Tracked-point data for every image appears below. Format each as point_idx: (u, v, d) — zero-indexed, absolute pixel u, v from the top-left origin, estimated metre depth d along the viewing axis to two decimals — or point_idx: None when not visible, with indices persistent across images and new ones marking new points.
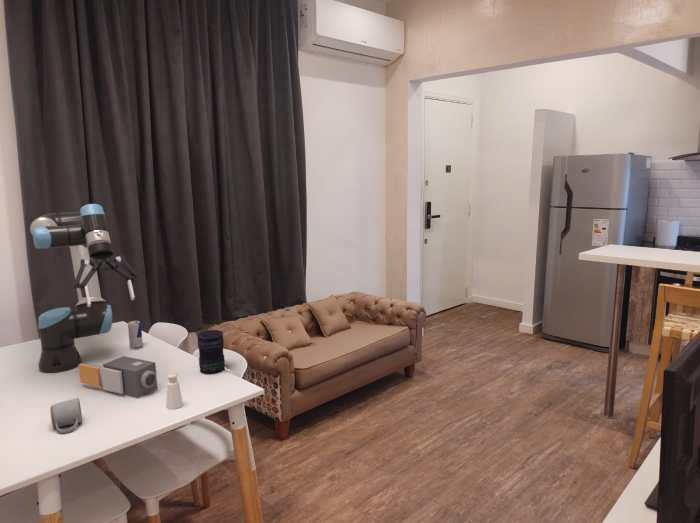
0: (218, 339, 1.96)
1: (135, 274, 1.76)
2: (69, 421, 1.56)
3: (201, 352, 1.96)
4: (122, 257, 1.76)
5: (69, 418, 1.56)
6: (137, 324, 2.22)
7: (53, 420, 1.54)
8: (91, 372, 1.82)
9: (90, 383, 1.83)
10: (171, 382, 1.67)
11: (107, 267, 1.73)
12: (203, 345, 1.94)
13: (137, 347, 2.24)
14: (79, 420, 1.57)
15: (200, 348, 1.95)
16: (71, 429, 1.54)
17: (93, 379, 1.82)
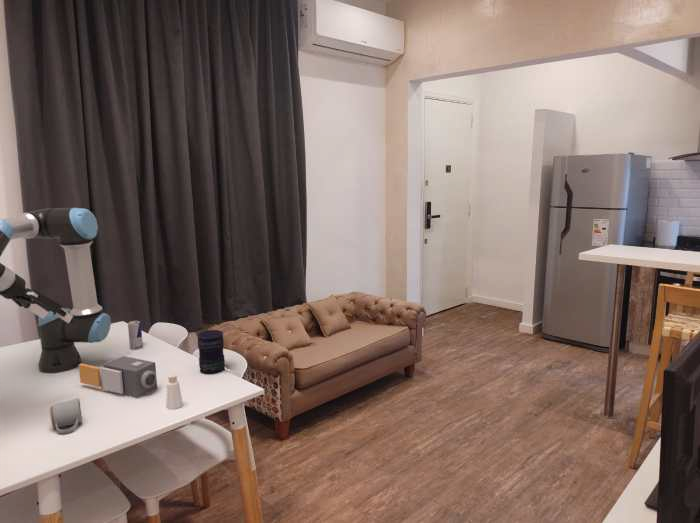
0: (218, 339, 1.96)
1: (54, 310, 1.61)
2: (69, 421, 1.56)
3: (201, 352, 1.96)
4: (32, 298, 1.56)
5: (69, 418, 1.55)
6: (137, 324, 2.22)
7: (53, 421, 1.53)
8: (91, 372, 1.82)
9: (90, 383, 1.83)
10: (171, 382, 1.67)
11: None
12: (203, 345, 1.94)
13: (137, 347, 2.24)
14: (79, 420, 1.57)
15: (200, 348, 1.95)
16: (71, 429, 1.53)
17: (93, 379, 1.82)
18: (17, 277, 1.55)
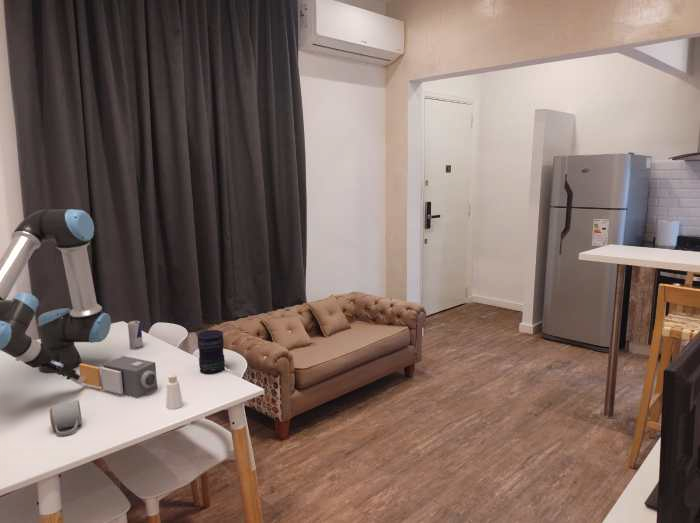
0: (218, 339, 1.96)
1: (69, 376, 1.75)
2: (69, 423, 1.54)
3: (201, 352, 1.96)
4: (58, 368, 1.69)
5: (69, 420, 1.54)
6: (137, 324, 2.22)
7: (52, 423, 1.52)
8: (91, 372, 1.82)
9: (91, 383, 1.83)
10: (171, 382, 1.67)
11: None
12: (203, 345, 1.94)
13: (137, 347, 2.24)
14: (79, 422, 1.56)
15: (200, 348, 1.95)
16: (71, 431, 1.52)
17: (93, 378, 1.82)
18: (42, 347, 1.66)
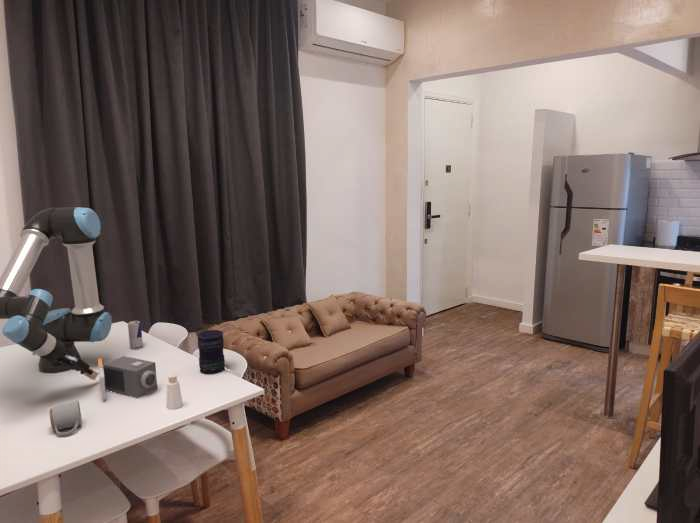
0: (218, 339, 1.96)
1: (83, 371, 1.79)
2: (69, 424, 1.54)
3: (201, 352, 1.96)
4: (72, 363, 1.73)
5: (69, 421, 1.54)
6: (137, 324, 2.22)
7: (52, 423, 1.52)
8: None
9: None
10: (171, 382, 1.67)
11: None
12: (203, 345, 1.94)
13: (137, 347, 2.24)
14: (79, 423, 1.56)
15: (200, 348, 1.95)
16: (71, 432, 1.52)
17: None
18: (57, 342, 1.71)
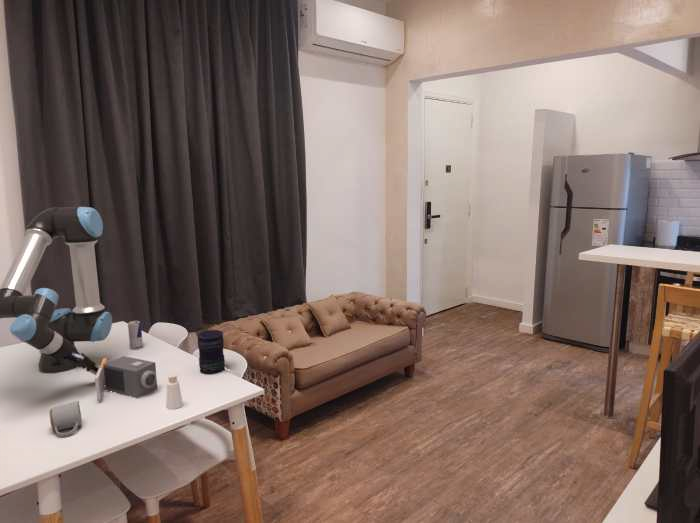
0: (218, 339, 1.96)
1: (89, 368, 1.82)
2: (69, 424, 1.54)
3: (201, 352, 1.96)
4: (79, 360, 1.76)
5: (69, 421, 1.53)
6: (137, 324, 2.22)
7: (52, 424, 1.52)
8: None
9: None
10: (171, 382, 1.67)
11: None
12: (203, 345, 1.94)
13: (137, 347, 2.24)
14: (79, 423, 1.55)
15: (200, 348, 1.95)
16: (71, 432, 1.52)
17: None
18: (64, 340, 1.73)
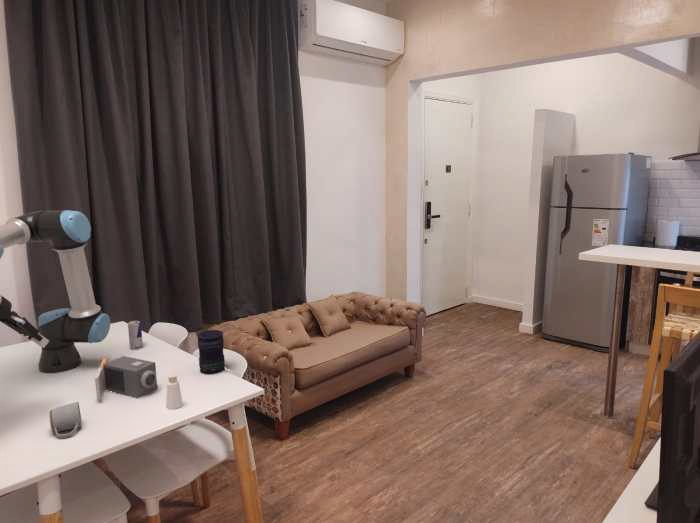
0: (218, 339, 1.96)
1: (31, 335, 1.61)
2: (68, 426, 1.53)
3: (201, 352, 1.96)
4: (19, 325, 1.54)
5: (68, 423, 1.53)
6: (137, 324, 2.22)
7: (52, 425, 1.51)
8: None
9: None
10: (171, 382, 1.67)
11: None
12: (203, 345, 1.94)
13: (137, 347, 2.24)
14: (79, 425, 1.55)
15: (200, 348, 1.95)
16: (70, 434, 1.51)
17: None
18: (3, 300, 1.52)
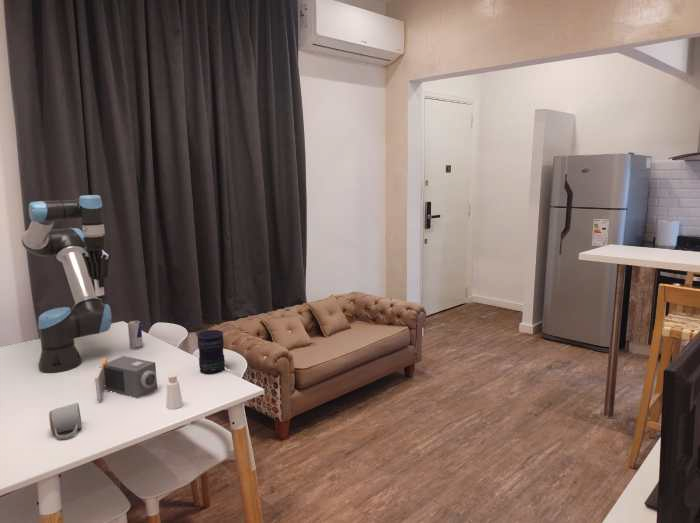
0: (218, 339, 1.96)
1: (100, 275, 1.94)
2: (68, 427, 1.52)
3: (201, 352, 1.96)
4: (103, 257, 1.91)
5: (68, 424, 1.52)
6: (137, 324, 2.22)
7: (52, 426, 1.50)
8: None
9: None
10: (171, 382, 1.67)
11: None
12: (203, 345, 1.94)
13: (137, 347, 2.24)
14: (79, 426, 1.54)
15: (200, 348, 1.95)
16: (70, 435, 1.50)
17: None
18: (104, 236, 1.95)
